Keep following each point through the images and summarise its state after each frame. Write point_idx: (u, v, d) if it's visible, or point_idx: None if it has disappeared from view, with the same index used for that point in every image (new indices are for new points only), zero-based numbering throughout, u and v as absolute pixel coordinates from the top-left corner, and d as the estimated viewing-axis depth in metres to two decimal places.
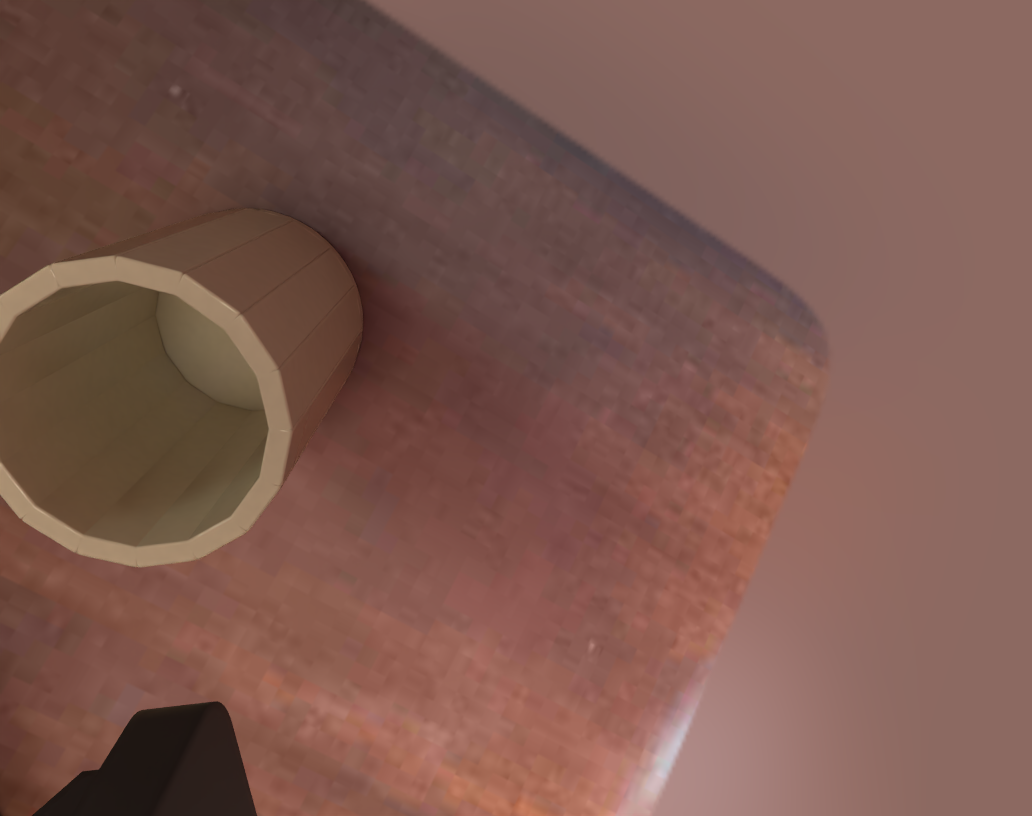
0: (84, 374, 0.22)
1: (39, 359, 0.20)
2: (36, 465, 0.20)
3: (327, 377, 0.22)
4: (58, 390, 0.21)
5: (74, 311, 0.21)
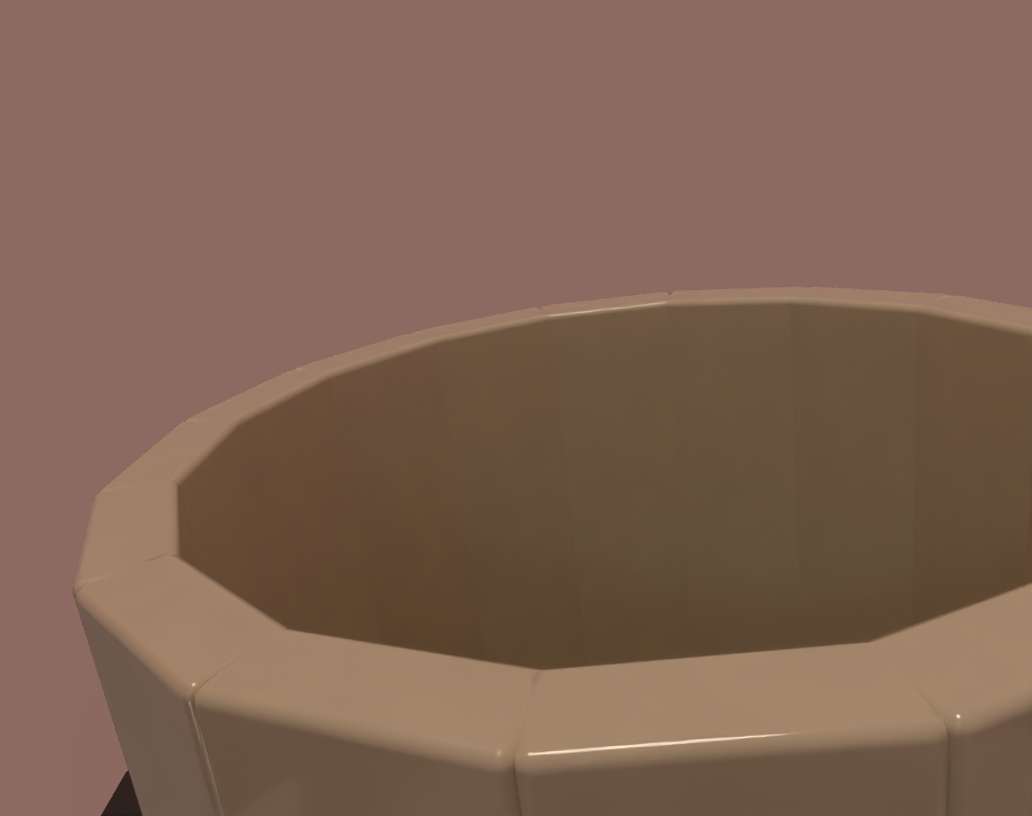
0: None
1: None
2: None
3: None
4: None
5: None
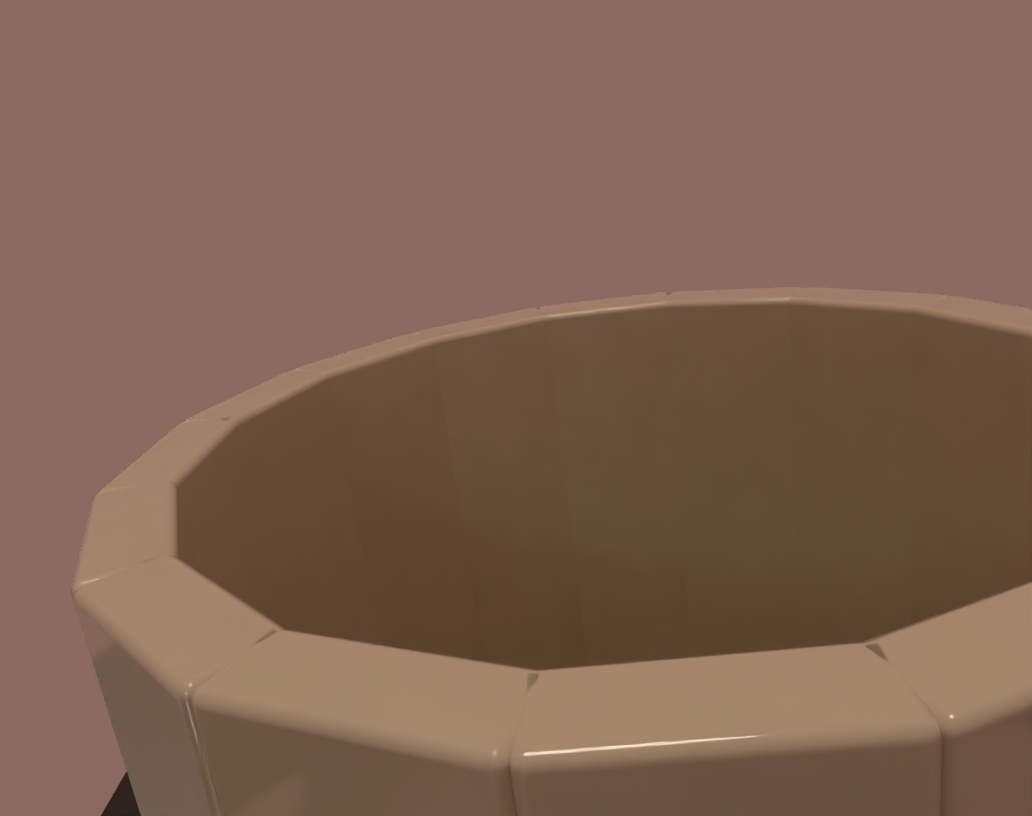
0: None
1: None
2: None
3: None
4: None
5: None
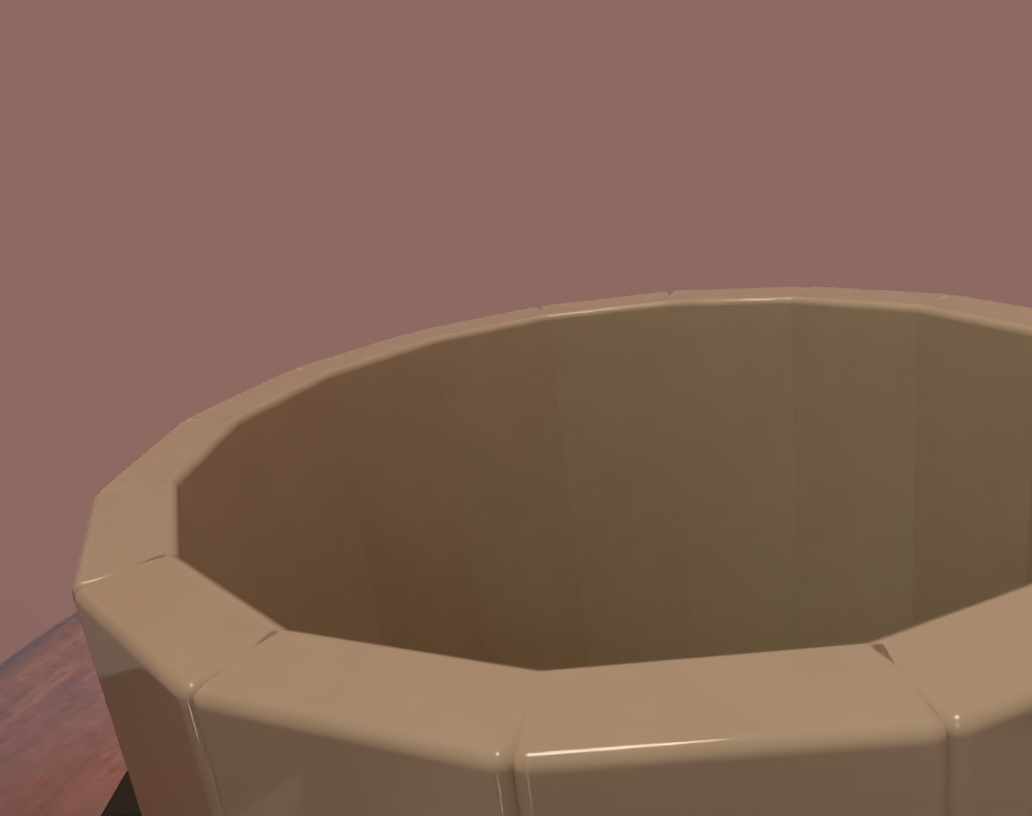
0: None
1: None
2: None
3: None
4: None
5: None
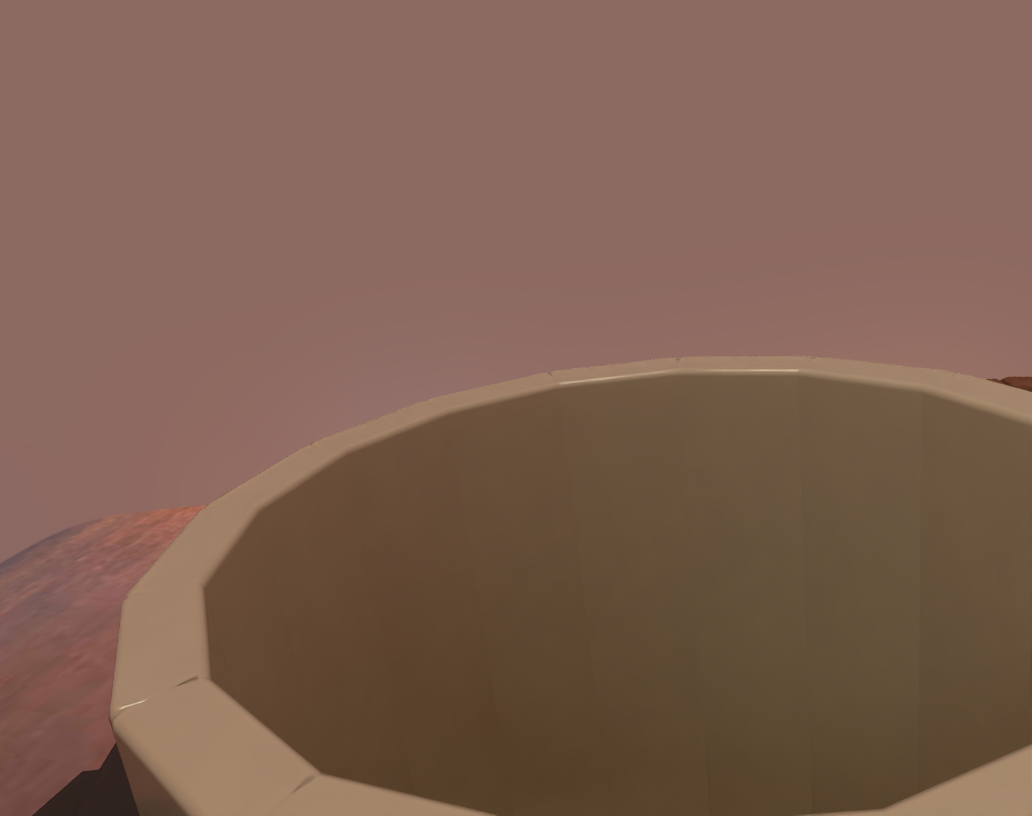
0: None
1: None
2: None
3: None
4: None
5: None
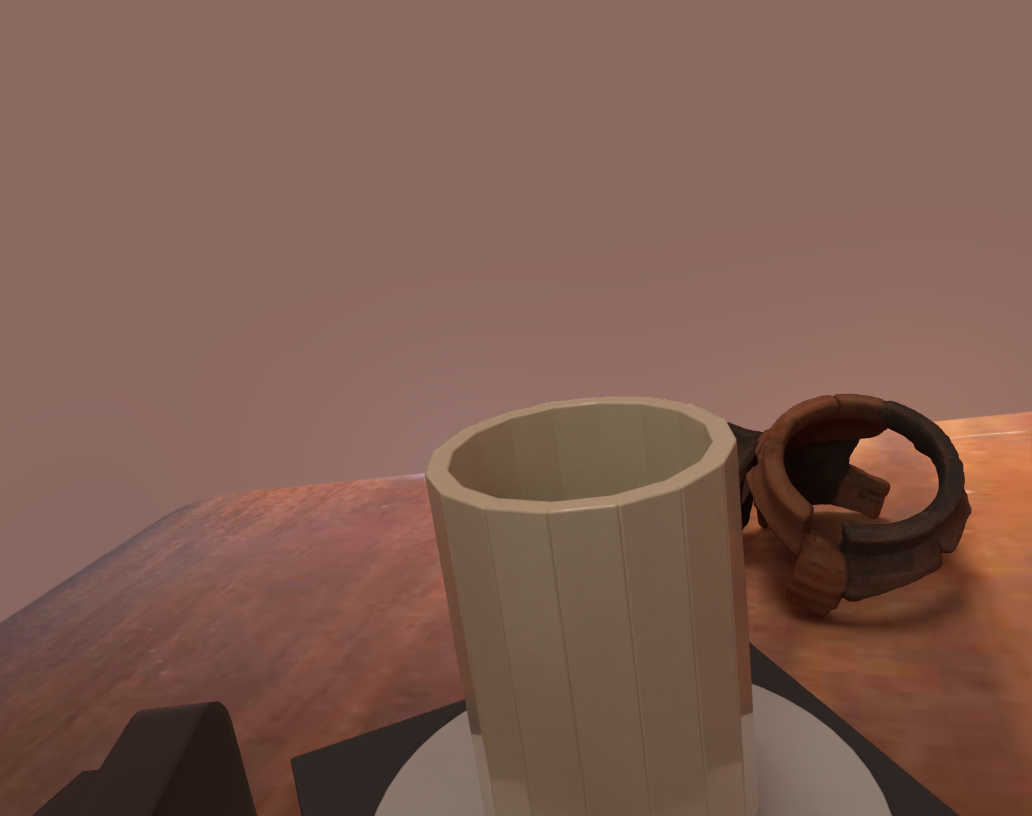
0: None
1: None
2: None
3: None
4: None
5: None
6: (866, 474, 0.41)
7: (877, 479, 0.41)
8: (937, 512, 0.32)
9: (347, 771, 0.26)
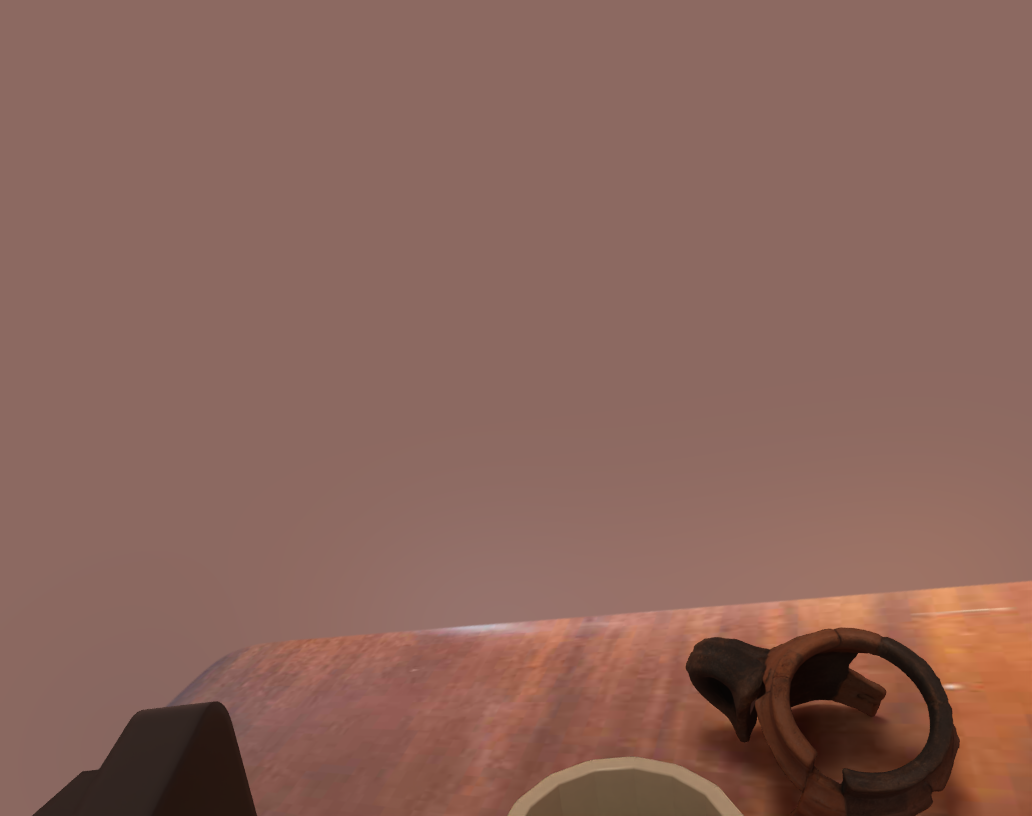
0: None
1: None
2: None
3: None
4: None
5: None
6: (864, 680, 0.44)
7: (874, 685, 0.44)
8: (928, 762, 0.36)
9: None
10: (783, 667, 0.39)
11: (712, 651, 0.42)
